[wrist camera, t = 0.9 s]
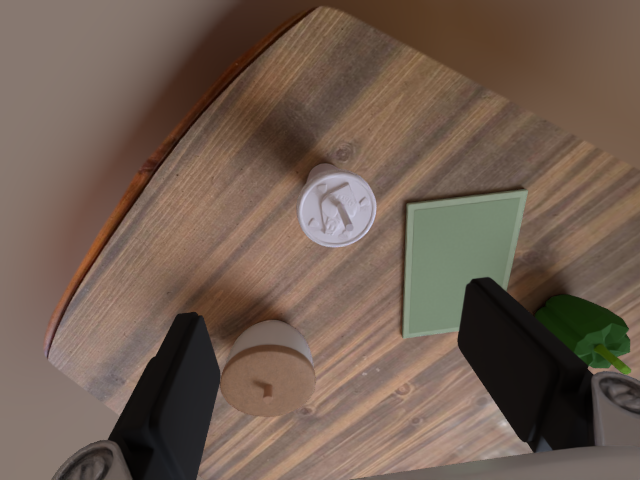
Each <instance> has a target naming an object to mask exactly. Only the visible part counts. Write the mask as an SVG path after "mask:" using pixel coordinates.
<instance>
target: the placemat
mask: <svg viewBox="0 0 640 480" xmlns="http://www.w3.org/2000/svg"><path fill="white" fill-rule="evenodd" d="M527 193H528V190H526V189H521V190H513V191H505V192H496V193H488V194H480V195H471V196H463V197H455V198H446V199H438V200H430V201H421V202H413V203H407V204H406V234H405V264H404V294H403V325H402V337H403V338H410V337H418V336H425V335H432V334H439V333H447V332H454V331H459V327H460V320H461V314H462V308H463V301H464V295H465V288H466V285H467V284H468V283H470V281H471V280H472V279H475V278H483V277H490V278H492V279H493V280H494V281H495V282H496V283H497V284H499V285H500V286H501V287H502V288H503V289H504V290H505V291H507V286H508V282H509V277H510V272H511V268H512V263H513V258H514V254H515V249H516V244H517V240H518V235H519V230H520V226H521V221H522V216H523V212H524V207H525V202H526V198H527Z"/></svg>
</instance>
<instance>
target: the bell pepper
mask: <svg viewBox="0 0 640 480" xmlns="http://www.w3.org/2000/svg"><path fill="white" fill-rule="evenodd" d="M535 318H536V319H537V320H538V321H539V322H541V323H542V324H543V325H544V326H545V327H546V328H547V329H548V330H549V331H551V332H552V333H553V334H554V335H555V336H556V337H557V338H558V339H559V340H560V341H562V342H563V343H564V344H565V345H566V346H567V347H568V348H569V349H570V350H572V351H573V352H574V353H575V354H576V355H577V356H578V357H579V358H580V359H581V360H583V361H584V362H585V363H586V364H587V365H588V366H591V367H593V368H609V367H610V366H611V364H612V365H613V366H614V367H615V368H617V369H618V370H619V371H620V372H621V373H623V374H629V373H630V372H631V369H630V368H629V367H628V366H627V365H625V364H624V363H623V362H622V361H621V360H620V359H618V358H617V357H618V356H621V355H623V354H626V353H629V352H630V339H629V337H628V336H627V334H626V333H627V332H628V330H629V328H628V327H627V325H626V323H625V322H624V320H623V319H622V318H620V317H619V316H617V315H616V314H614V313H613V312H611V311H610V310H608V309H606V308H604V307H601V306H599V305H597V304H594V303H592V302H590V301H587V300H584V299H582V298H579V297H576V296H572V295H566V294H561V295H558V296H554V297H551V298H550V299H549V300H548V301H546V306H545V307H542V308H540V309H539V310H538V311H537V312H536V313H535Z"/></svg>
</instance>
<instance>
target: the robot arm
mask: <svg viewBox="0 0 640 480" xmlns="http://www.w3.org/2000/svg"><path fill="white" fill-rule="evenodd" d="M458 346H459V349H460V351H461V352H462V354H463V355H464V357H465V358H466V360H467V361H468V363H469V364H470V366H471V367H472V369H473V370H474V372H475V373H476V375H477V376H478V378H479V379H480V380H481V382H482V383H483V385H484V386H485V388H486V389H487V391H488V392H489V394H490V395H491V397H492V398H493V400H494V401H495V403H496V404H497V406H498V407H499V409H500V410H501V412H502V413H503V415H504V416H505V418H506V419H507V421H508V422H509V424H510V425H511V427H512V428H513V430H514V431H515V433H516V434H517V436H518V437H519V438H520V439H521V440H522V441H523V442H527V443H528V445H529V446H530V448H531V449H532V451H533V452H534V453H529V454H522V455H515V456H508V457H501V458H494V459H487V460H480V461H473V462H466V463H459V464H452V465H445V466H438V467H431V468H425V469H418V470H411V471H404V472H398V473H391V474H384V475H377V476H371V477H364V478H357V479H351V480H640V381H638V380H637V379H634V378H632V377H629V376H627V375H624V374H620V373H616V372H607V371H603V372H599V373H596V374H595V375H593V374H592V373H591V372H590V371H589V370H588V369H587V368H588V365H587V364H586V363H585V362H584V361H583V360H581V359H580V358H579V357H578V356H577V355H576V354H575V353H574V352H573V351H572V350H570V349H569V348H568V347H567V346H566V345H565V344H564V343H563V342H562V341H560V340H559V339H558V338H557V337H556V336H555V335H554V334H553V333H552V332H551V331H549V330H548V329H547V328H546V327H545V326H544V325H543V324H542V323H541V322H539V321H538V320H537V319H536V318H535V317H534V316H533V315H532V314H531V313H530V312H528V311H527V310H526V309H525V308H524V307H523V306H522V305H521V304H520V303H518V302H517V301H516V300H515V299H514V298H513V297H512V296H511V295H510V294H508V293H507V292H506V291H505V290H504V289H503V288H502V287H501V286H500V285H499V284H497V283H496V282H495V281H494V280H493V279H492V278H490V277H483V278H475V279H472V280H471V281H470V283H468V284H467V285H466V288H465V295H464V301H463V308H462V314H461V320H460V327H459V333H458ZM219 384H220V369H219V366H218V363H217V360H216V356H215V353H214V350H213V347H212V343H211V340H210V337H209V334H208V331H207V327H206V324H205V321H204V318H203V316H198V314H197V313H196V312H190V313H182V314H178V315H177V316H176V317H175V319H174V321H173V323H172V325H171V327H170V329H169V331H168V333H167V335H166V337H165V339H164V341H163V343H162V345H161V347H160V349H159V350H158V352H157V354H156V356H155V357H153V358H152V359H151V360H150V361H149V363H148V364H147V366H146V368H145V370H144V372H143V374H142V376H141V377H140V379H139V381H138V383H137V385H136V387H135V389H134V391H133V393H132V395H131V396H130V398H129V400H128V402H127V404H126V406H125V408H124V410H123V412H122V413H121V415H120V417H119V419H118V421H117V423H116V425H115V427H114V429H113V431H112V432H111V434H110V436H109V438H108V440H102V441H101V440H100V441H97V442H94V443H91V444H89V445H87V446H86V447H84V448H82V449H80V450H79V451H77V452H76V453H75V454H74V455H72V456H71V457H70V458H68V459H67V461H66V462H65V463H64V464H63V465H62V466H61V467H60V468H59V469H58V471H57V472H56V473H55V475H54V476H53V478H52V480H196V478H197V474H198V470H199V466H200V462H201V458H202V454H203V450H204V445H205V441H206V437H207V433H208V429H209V425H210V421H211V417H212V412H213V408H214V404H215V400H216V396H217V392H218V388H219Z"/></svg>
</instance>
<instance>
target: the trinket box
mask: <svg viewBox="0 0 640 480" xmlns="http://www.w3.org/2000/svg"><path fill="white" fill-rule="evenodd" d="M315 386H316V377H315V371H314V366H313V358H312V354H311V351H310V348H309V345H308V343H307V341H306V340H305V338H304V337H303V335H302V334H301V333H300V332H299V331H298V330H297V329H296V328H294V327H293V326H291V325H289V324H287V323H285V322H282V321H279V320H266V321H263V322H260V323H257V324H255V325H253V326H251V327H249V328H248V329H246V330H245V331H244V332H243V333H242V334H241V335H240V336H239V337H238V338H237V340H236V341H235V343H234V344H233V346H232V348H231V350H230V353H229V355H228V358H227V361H226V364H225V367H224V370H223V372H222V376H221V381H220V388H221V392H222V394H223V396H224V398H225V399H226V401H227V402H228V403H229V404H230V405H231V406H232V407H234V408H235V409H237V410H239V411H241V412H243V413H246V414H249V415H253V416H260V417H273V416H280V415H284V414H287V413H290V412H292V411H294V410H296V409H298V408H300V407H301V406H303V405H304V404H305V403H306V402H307V401H308V400H309V399H310V397H311V396H312V394H313V392H314V390H315Z"/></svg>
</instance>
